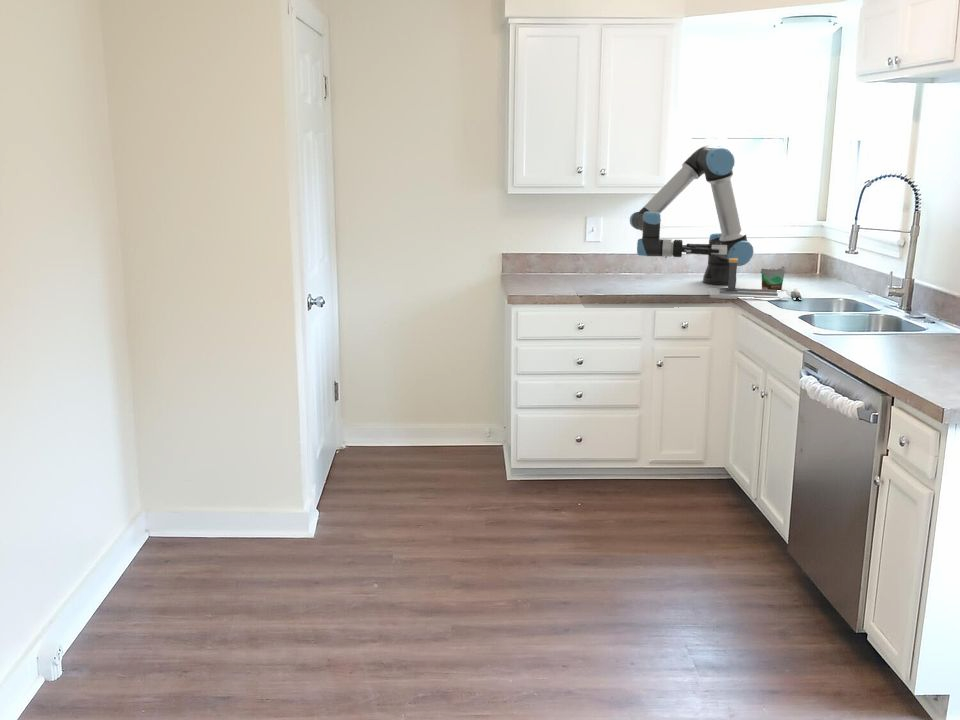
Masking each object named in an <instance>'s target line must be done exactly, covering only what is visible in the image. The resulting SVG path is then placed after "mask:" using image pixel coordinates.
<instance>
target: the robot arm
mask: <svg viewBox="0 0 960 720" xmlns="http://www.w3.org/2000/svg"><path fill="white" fill-rule="evenodd" d="M735 163H736V162H735V156H734V153H732V151H731V150H729V148H726V147H724V146H721V145H720V146H718V145H717V146H716V145H715V146H713V145H705V146H702V147H699V148H698V149H697V150H696V151H694V152H693V153H692V154H691V155H689V156H688V158H686V159H685V161H684V162H683V163H681V164H682V166H681V168H680V169H679V170H678V172H676V173H675V174H674V175H673V177H671V179H670V180H668V182H667V183H666V184H665V185H663V187H661V189H659V190H658V192H657V193H656V194H654V196H653V197H651V199H650V200H649V201H648V202H647V203H646V204H645V205H644V206H643V207H642V208H641V209H639V211H636V212H634V213H632V214H630V217H629V224H630V226H631V227H632V228H634V229H636V230H639V231H642V235H641V236H642V237H641V238H638V239H637V242H636V254H637V255H638V256H642V257H664V258H665V259H667V258H668V257H669V258H670V257H672V256H673V258H682V256H683V253H685V254H686V255H707V256H708V258H707V266H706V269H705V271H704V274H703V278H702V282H703V283H706V284H708V285H718V286H720V285H721V286H728V280H729V266H730V263H729V258H738V263H737V267H742V266H745V265H747V264H748V263H749V262H750V261H751V260H752V258H753V256H754V247H753V246H754V245H752V243H751V242H750V241H748V237H747V233H746V232H745V231H744V230H742V227H741V222H740V217H739V213H738V209H737V204H736V199H735V193H734V190H733V184H732V181H731V179H732V176H733V175H734V172H733V168H734V167H735ZM702 175H704V177H705V180H706V182H707V183H709V184H710V188H711V191H712V195H713V201H714V205H715V209H716V214H717V215H716V216H717V218H718V219H717V220H718V223H719V228H720V232H719V233H711V234H710V235H709V239H708V243H686V244H684V243H683V240H682V239H674V240H673V239H671V238H670V239H668V238H667V239H665V238H662V239H660V234H661V222H662V221H661V220H662V219H661V213H662V212H664V210H666V208H667V207H669V205H670V204H671V203H672V202H674V200H675V199H676V198H677V197H678V196H679V195H680V194H681V193H682V192H684V190H685V189H686V188H687V187H688V186H689V185H690V184H691V183H692V182H693V181H694V180H698V179H699V178H701V176H702Z"/></svg>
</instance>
